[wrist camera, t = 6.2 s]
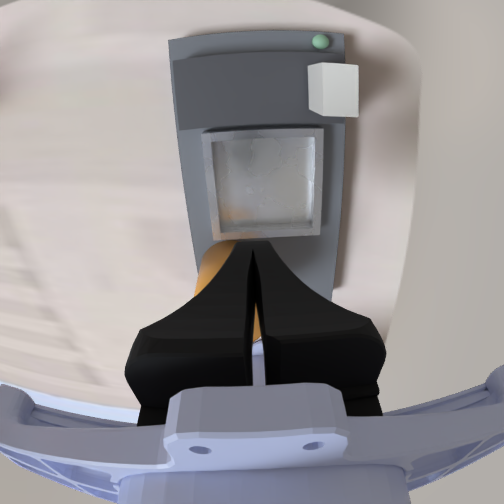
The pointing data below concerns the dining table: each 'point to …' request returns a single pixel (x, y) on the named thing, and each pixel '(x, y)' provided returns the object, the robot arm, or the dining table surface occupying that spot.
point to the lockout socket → (264, 181)
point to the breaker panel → (258, 115)
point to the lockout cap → (212, 265)
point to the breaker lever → (333, 89)
